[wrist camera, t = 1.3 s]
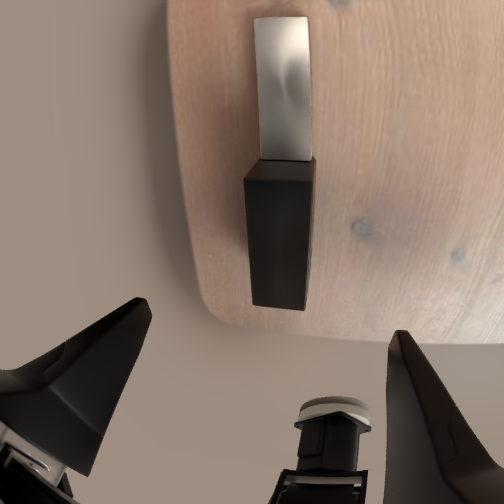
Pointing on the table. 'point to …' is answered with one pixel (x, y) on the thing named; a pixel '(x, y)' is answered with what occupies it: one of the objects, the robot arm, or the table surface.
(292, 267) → the knife
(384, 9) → the table surface
